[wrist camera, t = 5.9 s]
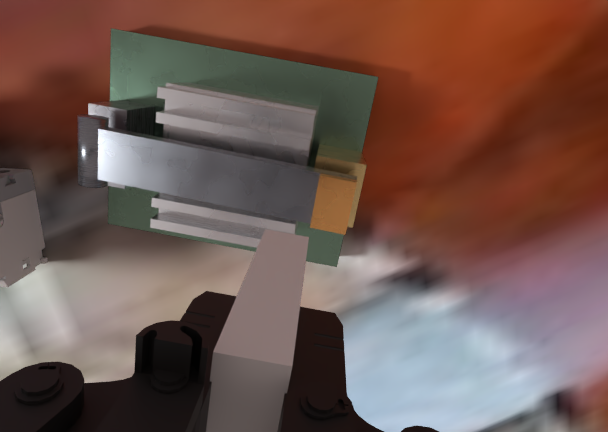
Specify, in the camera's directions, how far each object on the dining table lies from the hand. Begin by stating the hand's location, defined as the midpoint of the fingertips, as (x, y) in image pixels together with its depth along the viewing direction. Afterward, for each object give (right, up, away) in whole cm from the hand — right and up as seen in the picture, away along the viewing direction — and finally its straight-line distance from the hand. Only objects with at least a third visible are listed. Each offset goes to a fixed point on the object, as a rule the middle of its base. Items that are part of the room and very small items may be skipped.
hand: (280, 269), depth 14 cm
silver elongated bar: (-4, +4, +10) cm, 12 cm away
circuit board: (-4, +7, +17) cm, 19 cm away
